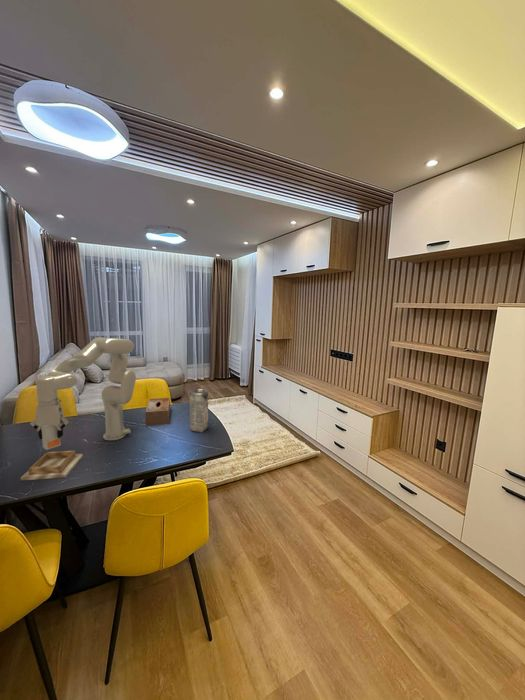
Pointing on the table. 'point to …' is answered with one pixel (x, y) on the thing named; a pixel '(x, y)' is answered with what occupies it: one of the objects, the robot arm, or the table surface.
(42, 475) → the socket stand
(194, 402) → the grey faceted bottle
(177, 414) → the table surface
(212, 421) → the table surface
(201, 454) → the table surface
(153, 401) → the tissue box cover
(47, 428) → the skincare box
